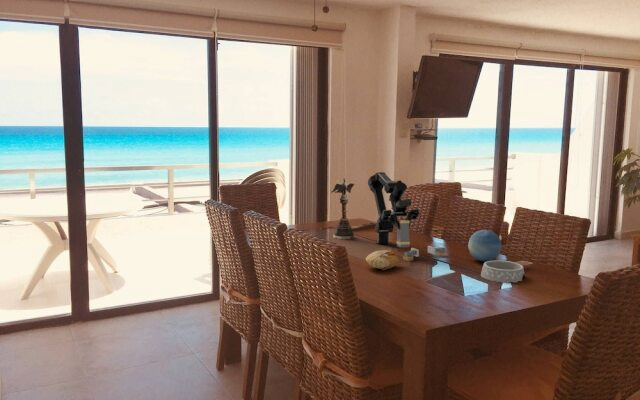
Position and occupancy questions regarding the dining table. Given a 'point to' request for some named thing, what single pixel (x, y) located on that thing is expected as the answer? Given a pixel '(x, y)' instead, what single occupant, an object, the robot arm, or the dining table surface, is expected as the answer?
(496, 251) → the decorative ball
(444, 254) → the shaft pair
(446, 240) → the dining table surface
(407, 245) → the block
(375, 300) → the dining table surface
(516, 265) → the dog bowl
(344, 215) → the bird statue
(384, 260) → the nautilus
